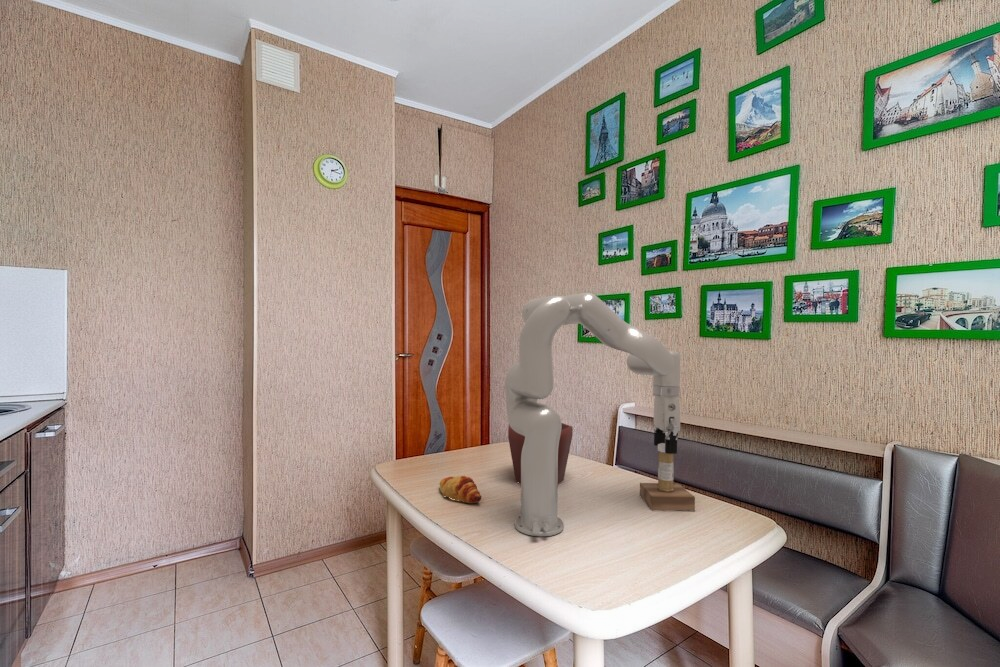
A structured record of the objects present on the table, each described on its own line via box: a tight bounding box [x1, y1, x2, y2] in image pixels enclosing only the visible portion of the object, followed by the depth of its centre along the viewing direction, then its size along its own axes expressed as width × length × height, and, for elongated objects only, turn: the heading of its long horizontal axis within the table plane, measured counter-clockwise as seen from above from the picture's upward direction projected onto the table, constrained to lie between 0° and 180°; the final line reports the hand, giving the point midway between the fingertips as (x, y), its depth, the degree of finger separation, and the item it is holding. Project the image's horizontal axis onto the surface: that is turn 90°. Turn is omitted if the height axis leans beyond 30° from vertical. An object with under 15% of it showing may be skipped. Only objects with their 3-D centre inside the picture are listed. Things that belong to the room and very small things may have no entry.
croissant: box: [439, 475, 482, 504], centre depth 137 cm, size 21×10×8 cm, turn 40°
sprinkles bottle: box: [657, 443, 675, 492], centre depth 132 cm, size 5×5×14 cm
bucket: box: [507, 422, 574, 485], centre depth 154 cm, size 24×22×25 cm
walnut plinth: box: [639, 482, 696, 511], centre depth 132 cm, size 12×12×4 cm
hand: (664, 449), depth 132 cm, fingers open, 9 cm apart
